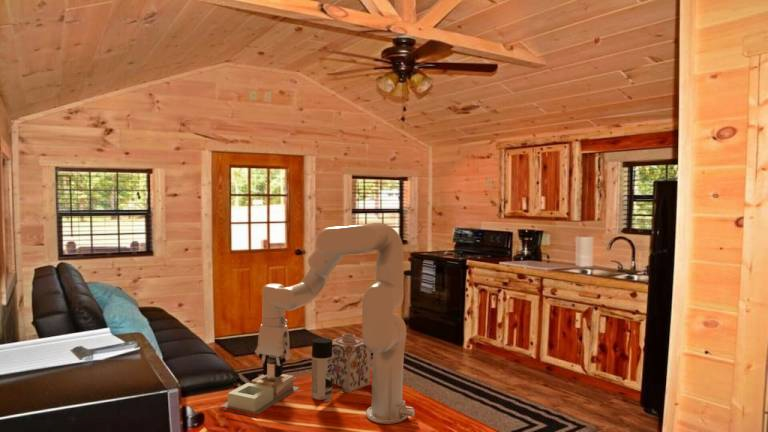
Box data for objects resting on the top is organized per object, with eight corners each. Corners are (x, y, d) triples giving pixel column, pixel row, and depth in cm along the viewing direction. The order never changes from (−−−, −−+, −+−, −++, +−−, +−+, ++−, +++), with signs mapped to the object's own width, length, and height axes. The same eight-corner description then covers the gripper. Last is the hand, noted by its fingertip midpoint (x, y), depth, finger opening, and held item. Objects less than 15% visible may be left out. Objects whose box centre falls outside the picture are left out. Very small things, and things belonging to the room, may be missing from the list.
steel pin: (280, 388, 183) (281, 356, 182) (274, 393, 179) (274, 360, 178) (270, 387, 184) (271, 355, 184) (264, 391, 180) (264, 358, 180)
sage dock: (273, 399, 173) (273, 387, 173) (254, 411, 164) (254, 398, 164) (247, 394, 177) (247, 382, 177) (227, 405, 168) (227, 393, 168)
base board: (299, 391, 185) (299, 387, 184) (258, 418, 162) (258, 414, 162) (265, 385, 190) (265, 380, 190) (220, 410, 168) (220, 405, 168)
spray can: (328, 405, 174) (329, 343, 173) (308, 402, 175) (309, 342, 174) (334, 397, 181) (335, 338, 180) (314, 395, 182) (315, 336, 181)
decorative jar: (324, 385, 191) (325, 335, 191) (347, 376, 200) (348, 329, 199) (348, 394, 184) (350, 342, 183) (371, 385, 193) (372, 335, 192)
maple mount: (293, 387, 184) (293, 375, 184) (276, 397, 175) (276, 385, 175) (268, 382, 188) (268, 371, 188) (251, 392, 179) (251, 380, 179)
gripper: (301, 321, 181) (300, 375, 182) (259, 315, 187) (258, 367, 188) (289, 326, 174) (288, 382, 175) (245, 320, 180) (245, 374, 181)
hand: (272, 374), depth 181 cm, fingers closed on steel pin, 4 cm apart
